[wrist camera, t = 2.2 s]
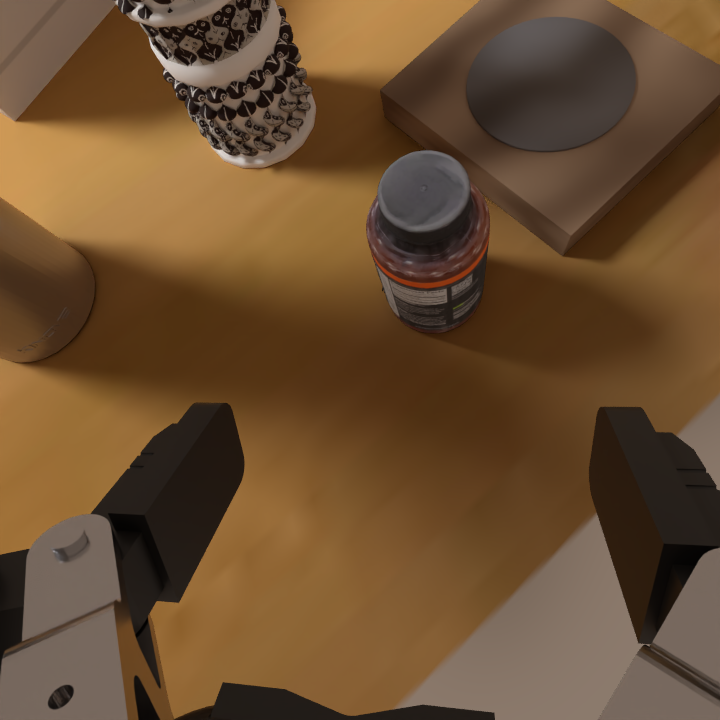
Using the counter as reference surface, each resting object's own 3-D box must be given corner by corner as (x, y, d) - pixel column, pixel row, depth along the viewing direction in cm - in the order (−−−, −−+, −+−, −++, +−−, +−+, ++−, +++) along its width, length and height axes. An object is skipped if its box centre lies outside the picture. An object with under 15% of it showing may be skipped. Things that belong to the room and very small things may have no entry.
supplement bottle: (412, 235, 34) (393, 110, 24) (498, 269, 33) (520, 151, 22) (370, 314, 33) (330, 221, 23) (456, 352, 32) (458, 271, 21)
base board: (384, 116, 37) (379, 87, 35) (524, -10, 38) (529, -47, 35) (562, 256, 32) (571, 234, 30) (718, 106, 33) (740, 73, 30)
